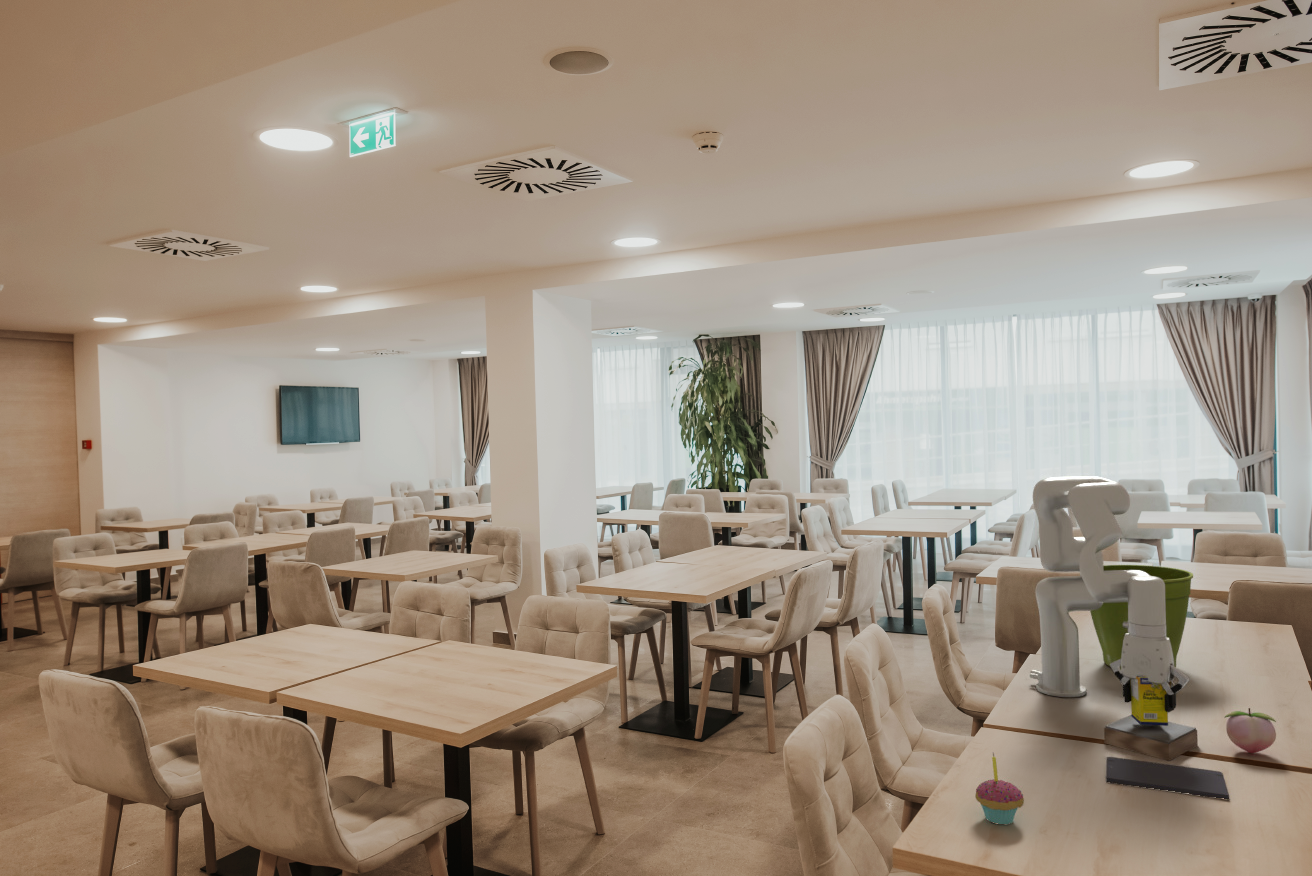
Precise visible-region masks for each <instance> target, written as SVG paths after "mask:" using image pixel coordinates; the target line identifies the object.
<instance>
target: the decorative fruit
mask: <svg viewBox="0 0 1312 876" xmlns="http://www.w3.org/2000/svg"><path fill="white" fill-rule="evenodd" d="M1225 718H1227V721H1226V725H1225V726H1226V727H1225V728H1226V734H1227V736H1228V739H1230V741H1231V742H1232V743H1233V744H1234V745H1235V746H1236V747H1238V748H1240V749H1241V750H1244V751H1245V752H1247V753H1250V754H1256V753H1260V752H1261V751H1262V752H1263V751H1264V750H1267V749H1268V748H1270V747H1271V746H1272V745H1274V743H1275V742H1276V739H1277V732H1276V729H1275V726H1274V724H1273V723H1272V722H1271V721H1273V722H1274V723H1277V720H1276V719H1274V718H1273V717H1272V716H1270V715H1269V714H1266V713H1264V712H1263V713H1262V712H1251V708H1250V707H1248V711H1241V710H1235V711H1231V712H1228V713H1227V714H1226V715H1225V716H1224V719H1225Z"/></svg>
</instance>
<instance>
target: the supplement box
mask: <svg viewBox="0 0 1312 876" xmlns="http://www.w3.org/2000/svg"><path fill="white" fill-rule="evenodd" d="M1130 682H1131V701H1130V709H1131V710H1130V711H1131V712H1130V713H1131V715H1132V717H1133V718H1134V719H1135V720H1136V721H1137V722H1138V723H1139V724H1140V725H1159V726H1168V722H1169V716H1168V715H1169V712H1166V711H1165V697H1164V695H1165V694H1167V692H1166V690H1165V689H1164V687H1163V686H1162V684H1155V683H1151V682H1149V681H1148V678H1147V677H1142V676H1136V679H1131V678H1130Z"/></svg>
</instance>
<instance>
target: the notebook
mask: <svg viewBox="0 0 1312 876" xmlns="http://www.w3.org/2000/svg"><path fill="white" fill-rule="evenodd" d="M1105 766H1106V769H1105V770H1106V771H1105V782H1106V783H1107V782H1110V783H1109V784H1114V783H1117V784H1116V785H1120V784H1123V785H1122V786H1127V785H1131V786H1130V787H1134V786H1139V787H1138V788H1141V787H1146V788H1145V789H1148V788H1154V789H1153V790H1155V789H1160V790H1159V791H1161V790H1168V791H1175V792H1181V793H1180V794H1182V793H1189V794H1192V795H1191V796H1196V795H1200V796H1199V797H1203V796H1205V798H1209V797H1216V798H1224V799H1229V800H1230V795H1229V790H1228V787H1227V783H1226V780H1225V776H1224V774H1223V772H1221V771H1219V770H1212V769H1205V768H1199V767H1189V766H1183V765H1176V764H1167V763H1161V762H1160V763H1159V762H1153V761H1146V760H1138V759H1131V758H1130V759H1129V758H1123V757H1114V756H1106V765H1105ZM1168 791H1167V792H1168ZM1175 792H1174V793H1175ZM1189 794H1188V795H1189ZM1216 798H1215V799H1216Z"/></svg>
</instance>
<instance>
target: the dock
mask: <svg viewBox="0 0 1312 876" xmlns="http://www.w3.org/2000/svg"><path fill="white" fill-rule="evenodd" d="M1103 732H1104V738H1103V739H1104V744H1106V745H1108V746H1109V745H1110V746H1112V747H1113V746H1114V747H1117V748H1121V749H1124V750H1128V751H1131V752H1132V751H1133V752H1135V753H1140V754H1142V755H1147V756H1150V757H1154V758H1158V759H1161V760H1165V761H1168V762H1170V761H1172V760H1173V759H1176V758H1177V757H1179V756H1181V755H1183V754H1185V753H1186V752H1188V750H1189V751H1190V749H1191V750H1193V749H1194V748H1196V747H1198V743H1199V742H1198V729H1197V728H1196V727H1193V726H1190V725H1189V726H1188V725H1185V724H1184V725H1183V724H1180V723H1176V722H1172V721H1168V726H1159V725H1140V724H1139V723H1138V722H1137V721H1136V720H1135V719H1134V718H1133V717H1132V714H1130V715H1128V716H1125V717H1123V718H1120V719H1117V720H1116V721H1113V722H1112V723H1109V724H1107V725H1105V726H1104V728H1103Z"/></svg>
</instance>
